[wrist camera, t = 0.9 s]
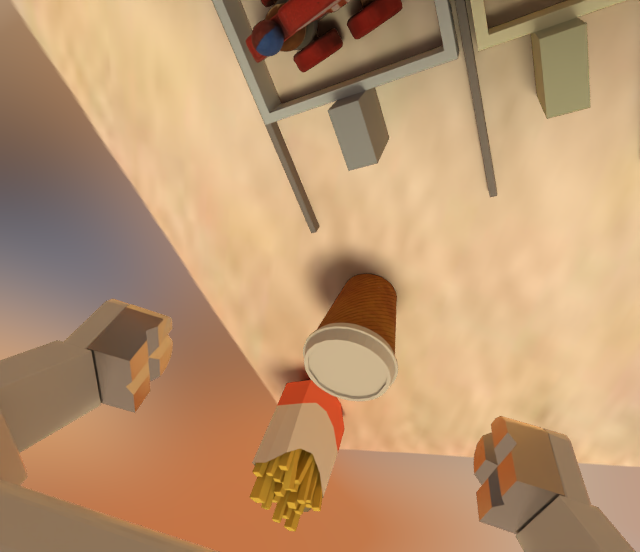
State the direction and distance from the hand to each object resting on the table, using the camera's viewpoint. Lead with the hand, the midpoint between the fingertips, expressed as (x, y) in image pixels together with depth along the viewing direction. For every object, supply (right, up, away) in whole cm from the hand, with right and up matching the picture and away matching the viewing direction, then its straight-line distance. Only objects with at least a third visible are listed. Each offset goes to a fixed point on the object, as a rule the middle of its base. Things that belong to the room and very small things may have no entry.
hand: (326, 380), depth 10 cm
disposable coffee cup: (+6, 0, +39) cm, 40 cm away
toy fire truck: (+1, +25, +23) cm, 34 cm away
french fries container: (0, -15, +53) cm, 55 cm away
